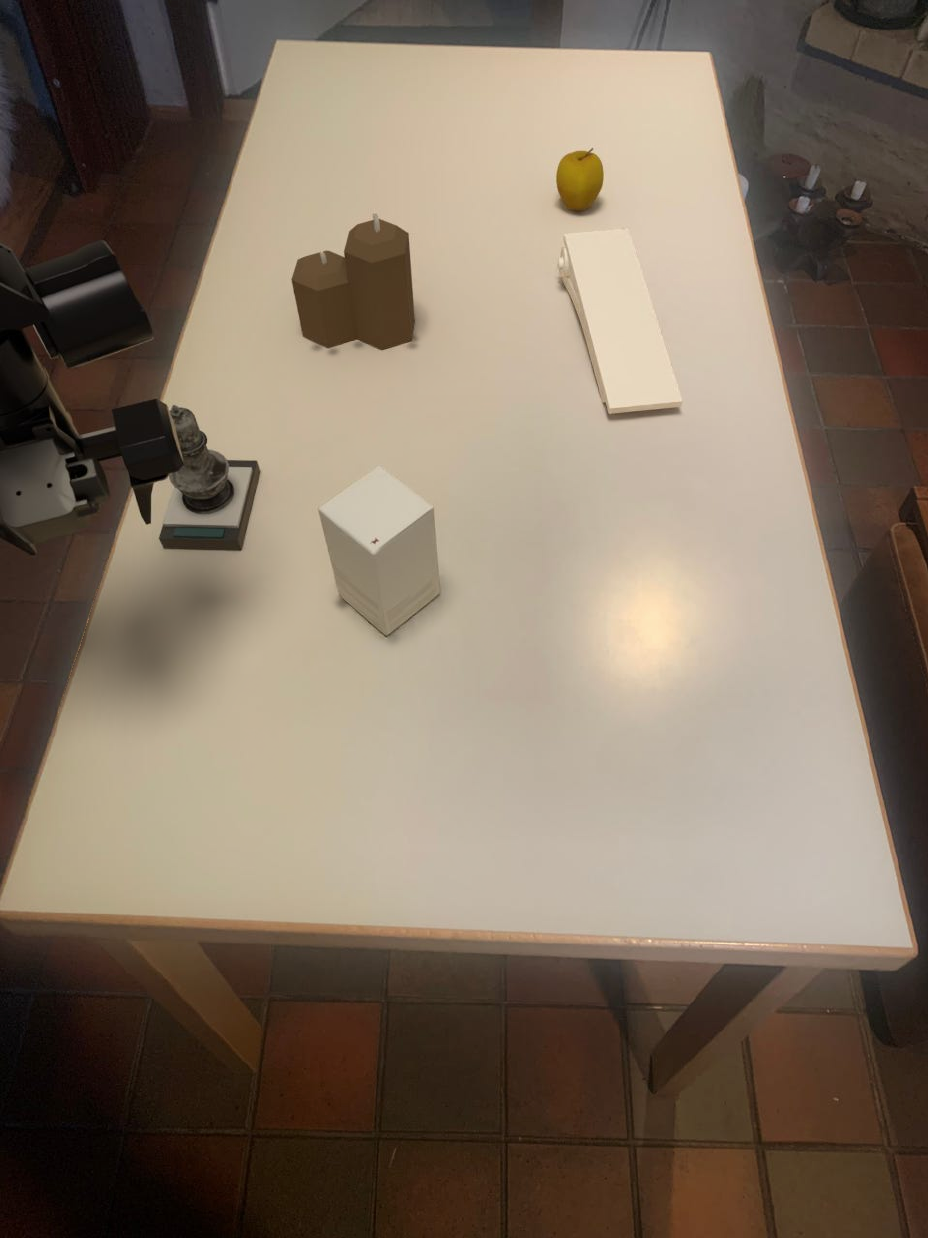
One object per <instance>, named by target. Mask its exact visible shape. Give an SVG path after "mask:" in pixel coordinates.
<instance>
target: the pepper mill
mask: <svg viewBox="0 0 928 1238" xmlns="http://www.w3.org/2000/svg"><path fill="white" fill-rule="evenodd" d="M169 411H170V413H171V416H172V418H173V421H174V425H175V429H176V433H177V437H178V441H179V445H180V449H181V453H182V457H183V461H184V465H183V466H182V467H181V469H180V470H179V471H177V472H173V473H170V474H169V476H168V478H169V481H170V483H171V485H172V486H173V488H174V487H175V488H177V489H178V490H179V491H180V492H182V493H183V494H182V501H183V504H184V505H185V507H186V508H187V509H188V510H190V511H191V512H194V513H197V514H211V513H214V512H217V511H219V510H221V509H223V508H224V507H226V506H227V505H228V504H229V503H230V502H231V500H232V498H233V496H234V488H233V485H232V483H231V482H230V481H229V480H228V479H227V477H228V472H229V464H228V461H227V460H228V459H227V458H226V457H225V455H224V454H222V453H221V452H219V451H216V450H213V449H208V446H207V444H208V437H207V435H206V433H205V432H203V431H202V430H200V426H199V424H198V421H197V418H196V416H195V415H196V414H194V413H193V411H192V410H191V409H189V408H186V407H182V406H181V407H180V406H178V405H176V404H172V406H171V407H170V409H169Z"/></svg>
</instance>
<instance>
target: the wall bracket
mask: <svg viewBox="0 0 928 1238" xmlns="http://www.w3.org/2000/svg"><path fill="white" fill-rule="evenodd" d="M563 243H564V246H563V247H561V249H560V257H557V264H556V265H557V268H556V269H557V270H558V274H559V276H560V278H562V283H563V285H564V287H565V288H566V290H567V292H568V294H569V296H570V299H571V301H572V303H573V305H574V308H575V311H576V313H577V316H578V320H579V322H580V326H581V328H582V332H583V335H584V339H585V342H586V343H585V344H586V346H587V350H588V353H589V357H590V361H591V365H592V368H593V372H594V376H595V380H596V383H597V387H598V391H599V396H600V399H601V402H602V403H603V404H604V403H605V405H606V409H607V412H608V414H609V415H611V414H621V413H630V412H640V411H641V412H642V411H653V410H661V409H662V410H663V409H671V408H681V407H682V404H683V397H682V394H681V391H680V388H679V385H678V382H677V378H676V375H675V372H674V368H673V366H672V363H671V360H670V356H669V352H668V350H667V346H666V344H665V340H664V337H663V333H662V330H661V328H660V323H659V321H658V318H657V315H656V312H655V308H654V305H653V302H652V298H651V295H650V291H649V289H648V286H647V282H646V278H645V275H644V271H643V270H642V265H641V262H640V260H639V256H638V254H637V251H636V248H635V244H634V240H633V237H632V234H631V231H630V228H629V227H628V228H618V229H606V230H595V231H594V230H593V231H583V232H571V233H570V232H569V233H564V234H563Z"/></svg>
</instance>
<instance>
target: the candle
mask: <svg viewBox="0 0 928 1238" xmlns="http://www.w3.org/2000/svg"><path fill="white" fill-rule="evenodd" d="M290 281H291V285H292V290H293V295H294V300H295V304H296V309H297V314H298V319H299V323H300V328H301V334H302V337H303V338H305V339H307V340H309V341H311V342H314V343H316V344H318V345H321V346H323V347H325V348H326V349H330V348H332V347H336V346H339V345H343V344H346V343H348V342H352V341H355V340H359V341H360V342H363V343H365V344H367V345H370V346H371V347H373V348H376V349H379V350H381V351H383V350H386V349H390V348H393V347H396V346H399V345H402V344H405V343H409V342H411V341H412V340H413V333H414V327H415V322H416V321H415V320H416V319H415V303H414V302H415V301H414V289H413V276H412V262H411V248H410V234H409V232H407V231H406V230H405V229H403V228H402V227H400V226H398V225H397V224H394V223H391V222H389V221H386V220H384V219H381V218H379V215H378V214H377V212H373V213H372V220H367V221H363V222H360V223H357V224H355V226H354V227H352V228H351V229H350V230H348V234H347V238H346V242H345V246H344V250H343V256H342V255H340V254H338V253H335V252H333V251H330V250H323V251H322V250H319V252H316V253H312V254H309V255H305V256H302V257H300V258H298V259H297V260H296V263H295V266H294V269H293V273H292V276H291V279H290Z"/></svg>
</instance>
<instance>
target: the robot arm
mask: <svg viewBox="0 0 928 1238" xmlns="http://www.w3.org/2000/svg"><path fill="white" fill-rule="evenodd" d="M32 326H33V328H34V330H35V333H36V335H37V337H38V338H39V340H40V342H41V344H42V346H43V347H44V349H45V351H46V353H47V355H48V357H49V359H50V360H51V361H53V360H55V359H58V358H61V360H62V361H63V363H64V365H65V367H66V369H67V370H70V369H73V368H74V369H78V368H81V367H84V366H86V365H89V364H92V363H95V362H98V361H100V360H103V359H105V358H107V357H110V356H113V355H116V354H119V353H121V352H124V351H127V350H129V349H131V348H134V347H136V346H139V345H142V344H144V343H147V342H150V341H153V340H154V338H155V335H154V331H153V328H152V326H151V322H150V320H149V317H148V315H147V312H146V310H145V309H144V307H143V305H142V304H141V303H140V301H139V300H138V298H137V297H136V295H135V292H134V291H133V289H132V286H131V284H130V283H129V281H128V279H127V277H126V276H125V273H124V271H123V270H122V268H121V265H120V262H119V261H118V257H117V255H116V254H115V252H114V251H113V250H112V248H111V247H110V245H109V244H108V243H107V242H106V240H103V239H100V240H98V241H94V242H91V243H89V244H85V245H84V246H82V247H80V248H79V249H77V250H75V251H74V252H71V253H69V254H65V255H63V256H60V257H57V258H54V259H49V260H48V261H45V262H41V263H39V264H37V265H33V266H30V267H27V268H24V267H23V265H22V263H21V261H20V260H19V258H18V257H17V254H16V253H15V251H14V250H13V249H12V248H11V247H9V246H7V245H5V244H3V243H1V242H0V540H2V541H4V542H6V543H8V544H10V545H11V546H13V547H15V548H17V549H19V550H20V551H22V552H24V553H26V554H27V555H30V556H36V555H37V554H38V550H37V549H38V547H37V544H40V543H44V542H45V541H47V540H51V539H54V538H58V537H61V536H66V535H71V534H72V535H73V534H78V533H80V532H83V531H85V530H86V529H87V528H88V527H89V526H90V524H91V519H92V518H91V516H95V515H98V514H101V510H100V507H101V505H103V504H109V503H110V502H111V501H112V494H111V491H110V488H109V483H108V479H107V476H106V472H105V469H104V468H103V466H102V464H101V463H100V462H103V461H107V460H111V459H115V458H119V457H122V461H123V464H124V466H125V469H126V470H127V473H128V478H129V483H130V487H131V488H132V491H133V494H134V498H135V500H136V504H137V507H138V511H139V514H140V517H141V518H142V520H143V522H144V523H145V525H146V526H147V525H151V524H152V493H153V490H154V489H153V488H154V485H155V483H158V482H162V481H165V480H166V479H168V478H169V474H170V473H173V472H177V471H179V470H180V469H181V467H182V466H183V465H184V461H183V457H182V453H181V449H180V445H179V441H178V437H177V433H176V429H175V425H174V421H173V418H172V416H171V413H170V408H169V406H168V404H167V403H165V402H163V401H161V400H159V399H158V398H153V399H148V400H145V401H140V402H136V403H132V404H128V405H124V406H120V407H115V408H111V413H112V419H113V423H114V424H113V425H114V426H111V427H107V428H104V429H99V430H95V431H92V432H87V433H83V434H79V432H78V430H77V428H76V425H74V421H73V418H72V416H71V414H70V412H69V410H68V409H66V407H65V405H64V404H63V402H62V400H61V397H60V396H59V394H58V392H57V391H56V388H55V387H54V385H53V383H52V381H51V377H50V374H49V373H48V370H47V369H46V367H45V365H44V364H42V362H41V361H40V359H39V357H38V355H37V353H36V350H35V349H34V348H33V346H32V343H31V342H30V340H29V338H28V336H27V334H26V332H25V331H24V329H26V328H29V327H32Z"/></svg>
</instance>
